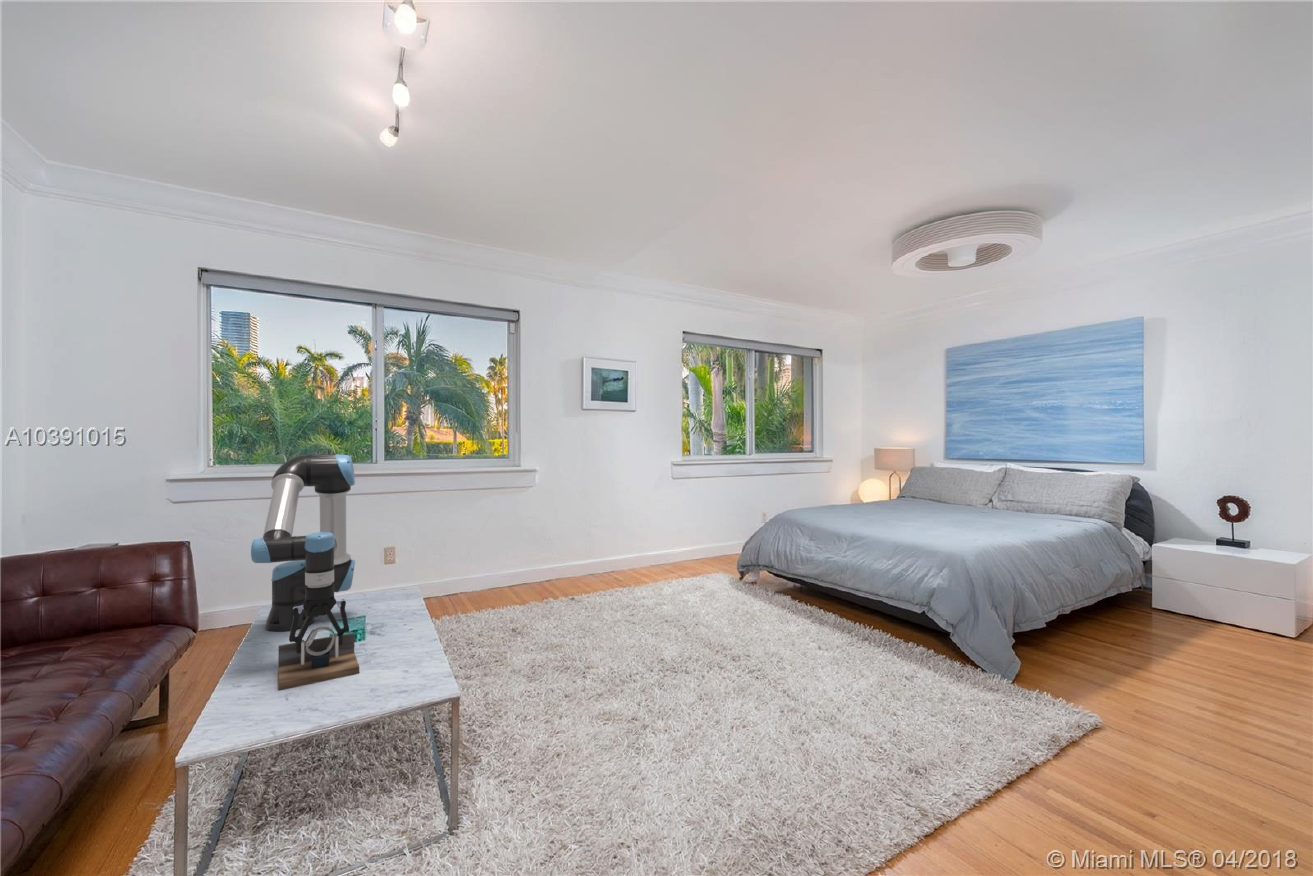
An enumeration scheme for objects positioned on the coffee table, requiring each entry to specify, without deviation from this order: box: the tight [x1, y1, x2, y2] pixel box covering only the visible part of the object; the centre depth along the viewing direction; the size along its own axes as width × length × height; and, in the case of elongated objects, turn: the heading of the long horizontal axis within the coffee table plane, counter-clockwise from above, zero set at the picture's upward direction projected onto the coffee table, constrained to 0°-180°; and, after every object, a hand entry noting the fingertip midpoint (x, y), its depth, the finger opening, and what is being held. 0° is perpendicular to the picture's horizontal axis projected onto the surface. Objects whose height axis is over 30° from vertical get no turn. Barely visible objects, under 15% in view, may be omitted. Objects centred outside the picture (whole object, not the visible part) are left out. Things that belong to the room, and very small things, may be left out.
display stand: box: [277, 632, 360, 691], centre depth 165 cm, size 14×20×8 cm
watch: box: [304, 626, 336, 669], centre depth 166 cm, size 6×8×11 cm
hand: (319, 659), depth 166 cm, fingers closed on watch, 8 cm apart
